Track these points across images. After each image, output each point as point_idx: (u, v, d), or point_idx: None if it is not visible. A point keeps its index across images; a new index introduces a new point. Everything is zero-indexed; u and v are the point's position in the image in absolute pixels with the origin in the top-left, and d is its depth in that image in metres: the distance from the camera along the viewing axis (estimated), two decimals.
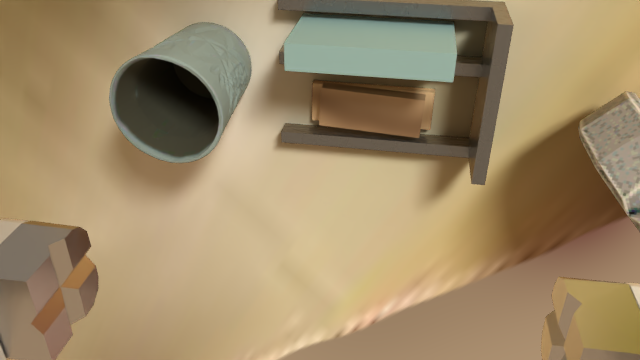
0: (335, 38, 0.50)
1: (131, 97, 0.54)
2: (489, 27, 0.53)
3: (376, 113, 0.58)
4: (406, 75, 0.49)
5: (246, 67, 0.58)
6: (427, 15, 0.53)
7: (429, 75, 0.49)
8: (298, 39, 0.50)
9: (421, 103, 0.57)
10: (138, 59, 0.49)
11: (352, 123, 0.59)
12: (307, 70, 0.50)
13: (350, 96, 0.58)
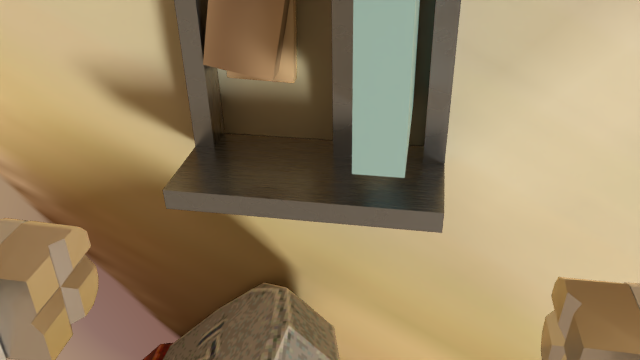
0: None
1: None
2: (413, 162, 0.34)
3: None
4: (359, 97, 0.25)
5: None
6: (433, 71, 0.31)
7: (362, 136, 0.26)
8: None
9: (267, 75, 0.33)
10: None
11: None
12: None
13: None
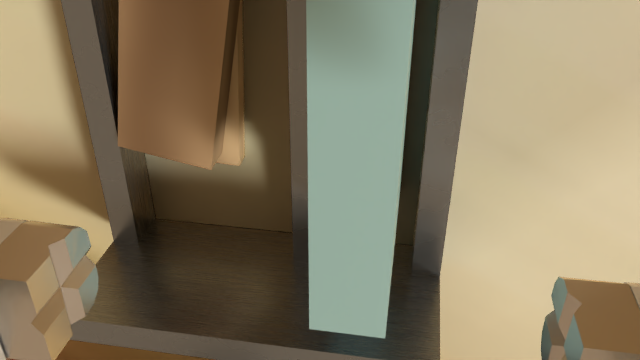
0: None
1: None
2: (398, 273, 0.26)
3: (171, 57, 0.22)
4: (319, 232, 0.17)
5: None
6: (428, 163, 0.23)
7: (323, 283, 0.18)
8: None
9: (204, 162, 0.24)
10: None
11: None
12: None
13: None
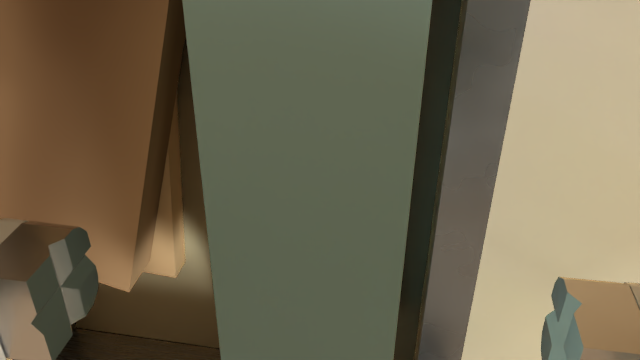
0: None
1: None
2: None
3: (73, 146, 0.15)
4: None
5: None
6: (433, 298, 0.16)
7: None
8: None
9: (119, 282, 0.17)
10: None
11: (20, 48, 0.14)
12: (195, 2, 0.06)
13: (137, 69, 0.14)
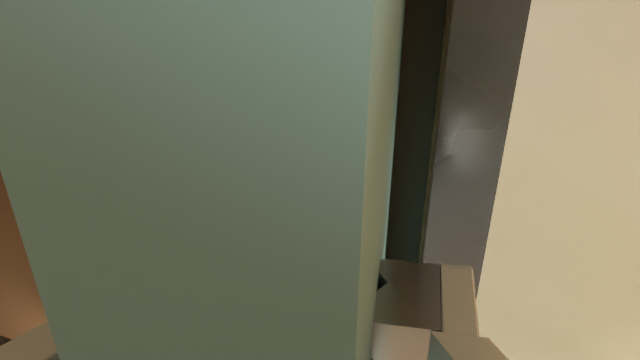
0: (374, 245, 0.06)
1: None
2: None
3: (8, 204, 0.13)
4: None
5: None
6: None
7: None
8: None
9: None
10: None
11: None
12: (15, 150, 0.04)
13: None
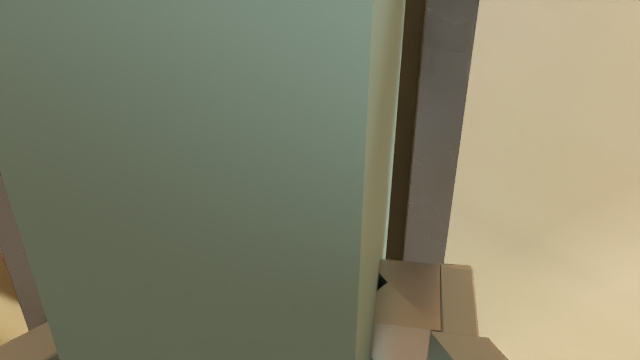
0: (374, 245, 0.06)
1: None
2: None
3: None
4: None
5: None
6: None
7: None
8: None
9: None
10: None
11: None
12: (13, 151, 0.04)
13: None
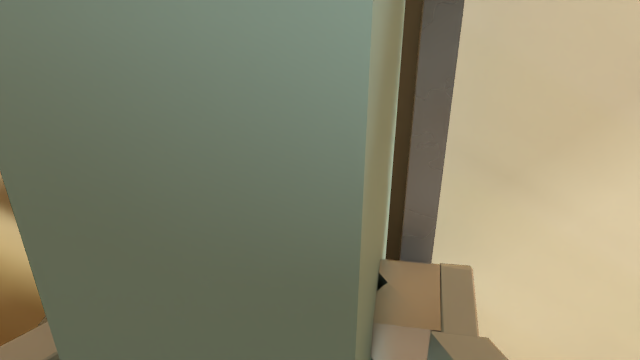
0: (373, 245, 0.06)
1: None
2: None
3: None
4: None
5: None
6: (412, 188, 0.22)
7: None
8: None
9: None
10: None
11: None
12: (13, 152, 0.04)
13: None
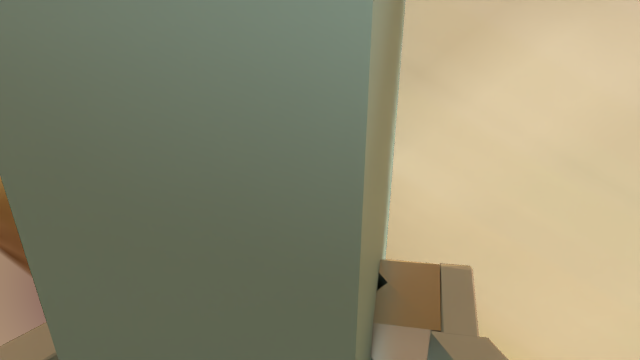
0: (373, 247, 0.06)
1: None
2: None
3: None
4: None
5: None
6: None
7: None
8: None
9: None
10: None
11: None
12: (13, 153, 0.04)
13: None
